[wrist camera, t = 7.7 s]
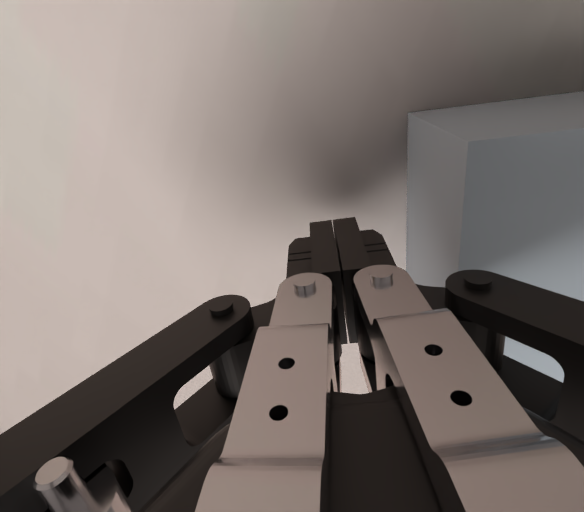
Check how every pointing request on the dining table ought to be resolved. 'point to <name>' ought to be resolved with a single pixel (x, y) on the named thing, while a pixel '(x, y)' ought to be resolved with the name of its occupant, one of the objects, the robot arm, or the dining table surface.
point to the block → (499, 198)
